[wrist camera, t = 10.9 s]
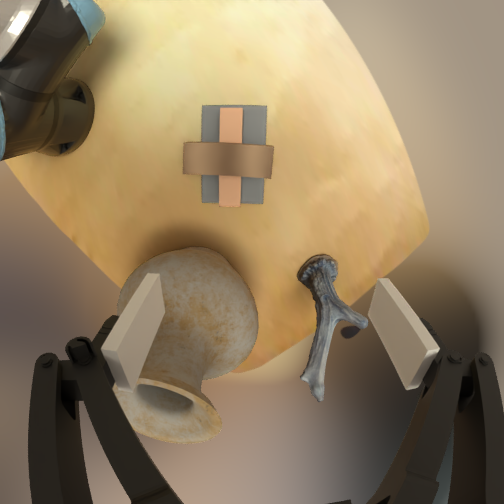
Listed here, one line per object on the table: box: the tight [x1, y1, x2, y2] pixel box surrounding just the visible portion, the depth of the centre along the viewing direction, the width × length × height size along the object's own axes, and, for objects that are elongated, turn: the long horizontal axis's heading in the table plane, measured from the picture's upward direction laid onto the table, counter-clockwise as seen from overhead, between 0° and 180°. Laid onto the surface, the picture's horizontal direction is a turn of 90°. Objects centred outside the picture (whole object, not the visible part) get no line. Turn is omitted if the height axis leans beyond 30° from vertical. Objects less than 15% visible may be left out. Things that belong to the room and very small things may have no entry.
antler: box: [297, 255, 368, 402], centre depth 41 cm, size 12×8×25 cm
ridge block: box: [202, 105, 267, 207], centre depth 40 cm, size 10×16×7 cm, turn 178°
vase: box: [112, 247, 258, 444], centre depth 39 cm, size 22×22×30 cm
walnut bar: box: [183, 142, 274, 179], centre depth 35 cm, size 11×4×4 cm, turn 86°
